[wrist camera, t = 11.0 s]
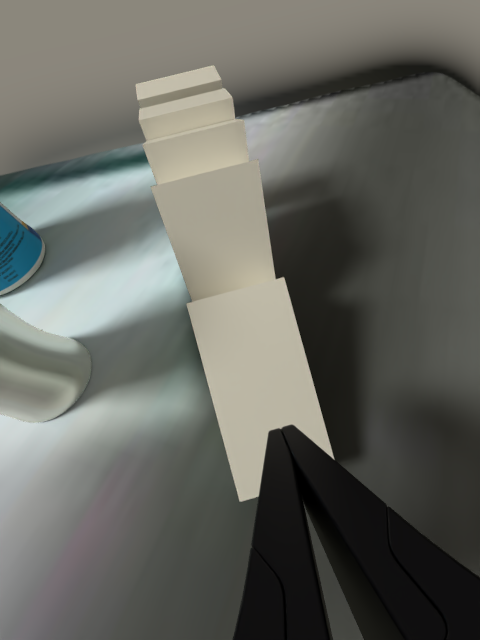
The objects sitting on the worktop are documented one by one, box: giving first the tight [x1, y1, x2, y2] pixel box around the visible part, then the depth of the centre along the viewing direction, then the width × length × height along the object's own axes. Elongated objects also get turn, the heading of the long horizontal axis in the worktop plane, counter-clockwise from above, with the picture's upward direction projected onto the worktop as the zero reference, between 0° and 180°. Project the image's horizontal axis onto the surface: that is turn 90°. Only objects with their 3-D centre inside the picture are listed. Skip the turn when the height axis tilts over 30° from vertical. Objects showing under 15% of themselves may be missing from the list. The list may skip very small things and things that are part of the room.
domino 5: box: [136, 66, 222, 109], centre depth 19 cm, size 2×5×10 cm, turn 104°
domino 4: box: [139, 88, 235, 141], centre depth 17 cm, size 2×5×10 cm, turn 104°
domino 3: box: [143, 119, 249, 185], centre depth 16 cm, size 2×5×10 cm, turn 104°
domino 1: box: [186, 277, 334, 502], centre depth 13 cm, size 2×5×10 cm
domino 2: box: [151, 159, 275, 302], centre depth 14 cm, size 2×5×10 cm
